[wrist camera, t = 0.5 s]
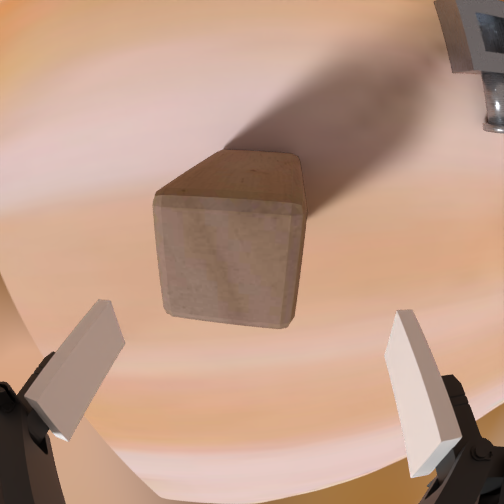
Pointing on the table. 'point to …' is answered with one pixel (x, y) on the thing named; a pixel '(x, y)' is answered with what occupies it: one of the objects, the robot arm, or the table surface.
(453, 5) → the valve body
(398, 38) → the table surface
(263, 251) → the wooden block
